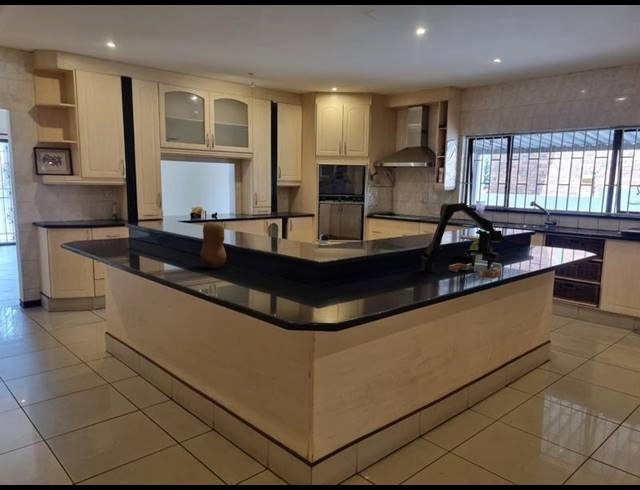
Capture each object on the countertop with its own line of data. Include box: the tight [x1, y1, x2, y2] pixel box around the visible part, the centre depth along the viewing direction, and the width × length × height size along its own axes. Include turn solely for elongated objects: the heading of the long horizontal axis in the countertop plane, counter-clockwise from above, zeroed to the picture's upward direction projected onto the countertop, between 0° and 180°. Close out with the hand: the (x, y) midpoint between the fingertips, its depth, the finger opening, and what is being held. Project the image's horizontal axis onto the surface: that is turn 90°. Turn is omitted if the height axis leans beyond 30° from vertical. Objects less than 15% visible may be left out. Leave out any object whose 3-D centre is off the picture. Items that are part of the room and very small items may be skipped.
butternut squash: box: [200, 221, 227, 269], centre depth 244 cm, size 14×13×25 cm
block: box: [473, 263, 493, 273], centre depth 265 cm, size 6×10×4 cm, turn 66°
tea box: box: [460, 234, 483, 261], centre depth 305 cm, size 15×10×15 cm, turn 73°
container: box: [317, 233, 331, 245], centre depth 298 cm, size 8×8×13 cm
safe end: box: [475, 259, 503, 271], centre depth 269 cm, size 1×16×5 cm, turn 41°
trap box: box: [448, 262, 502, 279], centre depth 262 cm, size 22×24×3 cm
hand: (480, 268), depth 263 cm, fingers open, 9 cm apart
